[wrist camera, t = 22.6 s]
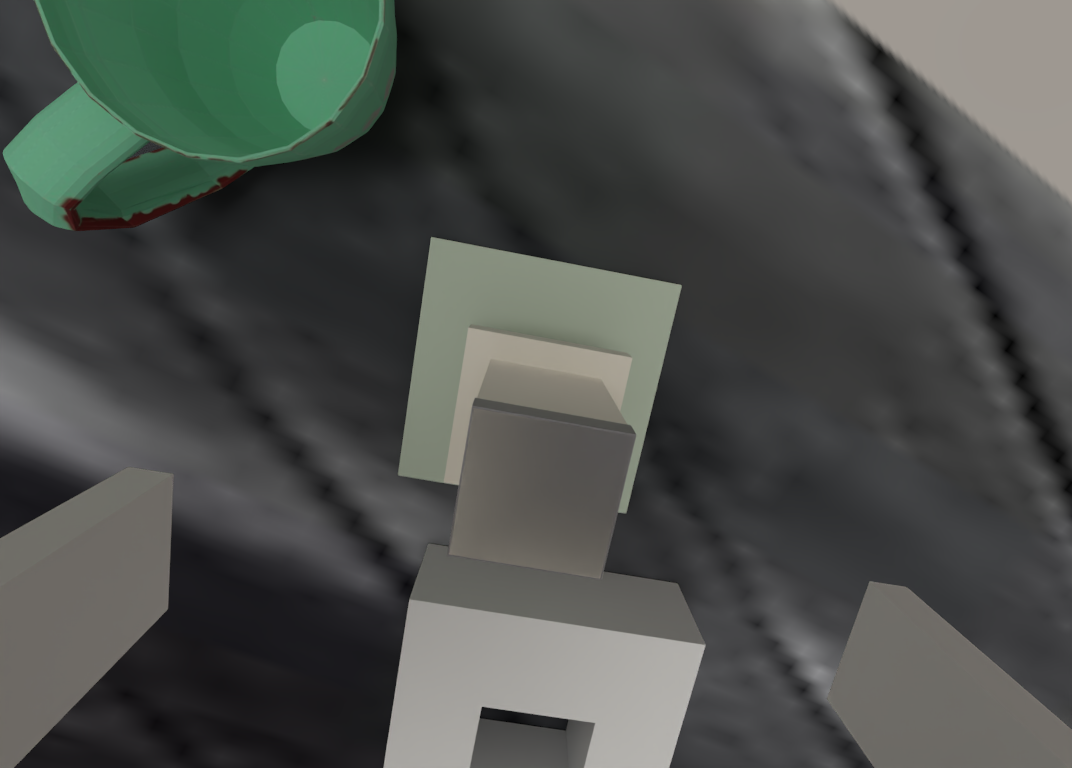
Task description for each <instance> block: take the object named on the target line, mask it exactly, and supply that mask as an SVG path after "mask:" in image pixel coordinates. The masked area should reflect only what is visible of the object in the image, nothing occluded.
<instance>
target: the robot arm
mask: <svg viewBox="0 0 1072 768" xmlns="http://www.w3.org/2000/svg"><path fill="white" fill-rule="evenodd" d="M172 498H173V474H171V473H164V472H158V471H151V470H145V469H138V468H132V467H127V468H126V469H124V470H122V471H120V472H119V473H117V474H115V475H113V476H111V477H110V478H108V479H106V480H104V481H102V482H101V483H99V484H97V485H95V486H93V487H92V488H90V489H88V490H86V491H84V492H83V493H81V494H79V495H77V496H75V497H74V498H72V499H70V500H68V501H66V502H65V503H63V504H61V505H59V506H58V507H56V508H54V509H52V510H50V511H49V512H47V513H45V514H43V515H41V516H40V517H38V518H36V519H34V520H32V521H31V522H29V523H27V524H25V525H23V526H22V527H20V528H18V529H16V530H14V531H13V532H11V533H9V534H7V535H5V536H4V537H2V538H0V768H14V767H15V766H16V765H17V764H18V763H19V762H20V761H21V760H22V759H23V758H24V757H25V756H26V755H27V754H28V752H29V751H30V750H31V749H32V748H33V747H34V746H35V745H36V744H37V743H38V742H39V741H40V740H41V739H42V738H43V737H44V736H45V735H46V734H47V733H48V732H49V731H50V730H51V729H52V728H53V727H54V726H55V725H56V724H57V723H58V722H59V721H60V720H61V719H62V718H63V717H64V715H65V714H66V713H67V712H68V711H69V710H70V709H71V708H72V707H73V706H74V705H75V704H76V703H77V702H78V701H79V700H80V699H81V698H82V697H83V696H84V695H85V694H86V693H87V692H88V691H89V690H90V689H91V688H92V687H93V686H94V685H95V684H96V683H97V682H98V681H99V679H100V678H101V677H102V676H103V675H104V674H105V673H106V672H107V671H108V670H109V669H110V668H111V667H112V666H113V665H114V664H115V663H116V662H117V661H118V660H119V659H120V658H121V657H122V656H123V655H124V654H125V653H126V652H127V651H128V650H129V649H130V648H131V647H132V646H133V645H134V644H135V642H136V641H137V640H138V639H139V638H140V637H141V636H142V635H143V634H144V633H145V632H146V631H147V630H148V629H149V628H150V627H151V626H152V625H153V624H154V623H155V622H156V621H157V620H158V619H159V618H160V617H161V616H162V615H163V614H164V613H165V612H166V611H167V610H168V596H169V572H170V547H171V523H172ZM827 700H828V701H829V703H830V704H831V706H832V707H833V709H834V710H835V711H836V713H837V714H838V716H839V717H840V719H841V720H842V722H843V723H844V724H845V726H846V727H847V729H848V730H849V732H850V733H851V735H852V736H853V737H854V739H855V740H856V742H857V743H858V745H859V746H860V748H861V749H862V750H863V752H864V753H865V755H866V756H867V758H868V759H869V761H870V762H871V763H872V765H873V766H874V768H1072V730H1071V729H1070V728H1069V727H1068V726H1067V725H1066V724H1064V723H1063V722H1062V721H1061V720H1060V719H1059V718H1057V717H1056V716H1055V715H1054V714H1053V713H1052V712H1051V711H1049V710H1048V709H1047V708H1046V707H1045V706H1044V705H1042V704H1041V703H1040V702H1039V701H1038V700H1037V699H1035V698H1034V697H1033V696H1032V695H1031V694H1030V693H1029V692H1027V691H1026V690H1025V689H1024V688H1023V687H1022V686H1020V685H1019V684H1018V683H1017V682H1016V681H1015V680H1013V679H1012V678H1011V677H1010V676H1009V675H1008V674H1007V673H1005V672H1004V671H1003V670H1002V669H1001V668H1000V667H998V666H997V665H996V664H995V663H994V662H993V661H991V660H990V659H989V658H988V657H987V656H986V655H985V654H983V653H982V652H981V651H980V650H979V649H978V648H976V647H975V646H974V645H973V644H972V643H971V642H969V641H968V640H967V639H966V638H965V637H964V636H963V635H961V634H960V633H959V632H958V631H957V630H956V629H954V628H953V627H952V626H951V625H950V624H949V623H947V622H946V621H945V620H944V619H943V618H942V617H940V616H939V615H938V614H937V613H936V612H935V611H934V610H932V609H931V608H930V607H929V606H928V605H927V604H925V603H924V602H923V601H922V600H921V599H920V598H918V597H917V596H916V595H915V594H914V593H913V592H912V591H910V590H909V589H908V588H907V587H903V586H896V585H890V584H883V583H877V582H869V585H868V588H867V590H866V593H865V596H864V599H863V601H862V604H861V607H860V610H859V612H858V615H857V618H856V621H855V623H854V626H853V629H852V631H851V634H850V637H849V640H848V642H847V645H846V648H845V651H844V653H843V656H842V659H841V662H840V664H839V667H838V670H837V673H836V675H835V678H834V681H833V684H832V686H831V689H830V692H829V695H828V697H827Z"/></svg>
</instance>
